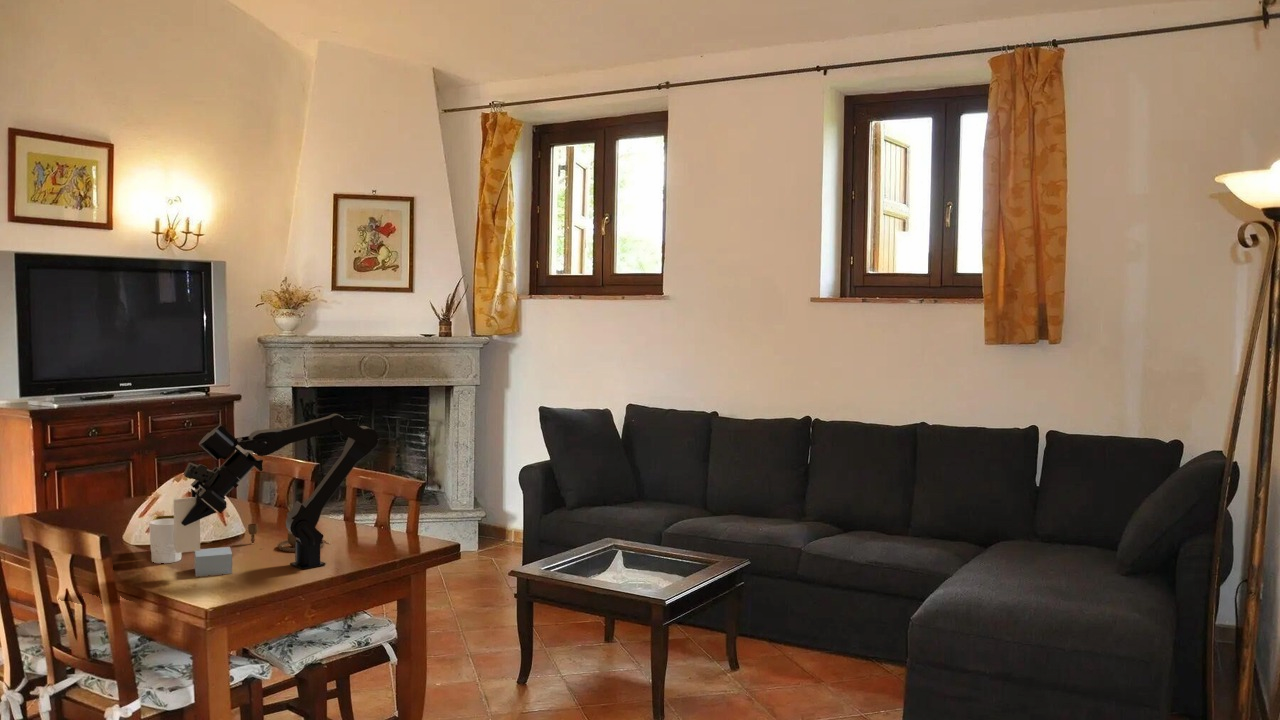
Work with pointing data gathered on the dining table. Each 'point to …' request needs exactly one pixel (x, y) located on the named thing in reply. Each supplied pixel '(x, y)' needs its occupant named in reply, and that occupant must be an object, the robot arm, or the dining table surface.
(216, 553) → the base block
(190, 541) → the pillar
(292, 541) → the place setting
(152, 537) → the white cup
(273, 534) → the dining table surface
